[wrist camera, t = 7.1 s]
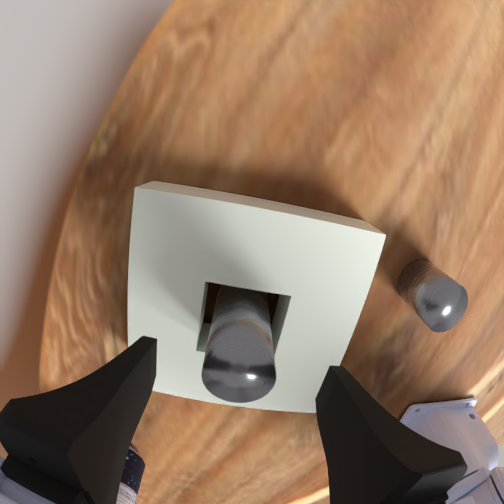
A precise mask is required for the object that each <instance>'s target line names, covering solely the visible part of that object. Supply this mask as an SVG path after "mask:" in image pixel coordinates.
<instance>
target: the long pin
mask: <svg viewBox="0 0 504 504" xmlns="http://www.w3.org/2000/svg"><path fill="white" fill-rule="evenodd" d="M201 377H202V381H203V384H204V386H205V387H206V389H207V390H208V391H209V392H210V393H211V394H213V395H214V396H216V397H217V398H220V399H222V400H225V401H228V402H233V403H247V402H252V401H255V400H258V399H260V398H262V397H264V396H265V395H267V394H268V393H269V392H270V391H271V390H272V389H273V387H274V385H275V382H276V367H275V358H274V350H273V341H272V332H271V323H270V314H269V306H268V297H267V293H266V292H264V291H258V290H252V289H246V288H240V287H234V286H229V285H222V286H221V287H220V289H219V291H218V294H217V299H216V304H215V308H214V313H213V318H212V323H211V328H210V332H209V337H208V342H207V347H206V352H205V357H204V362H203V367H202V372H201Z"/></svg>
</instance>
